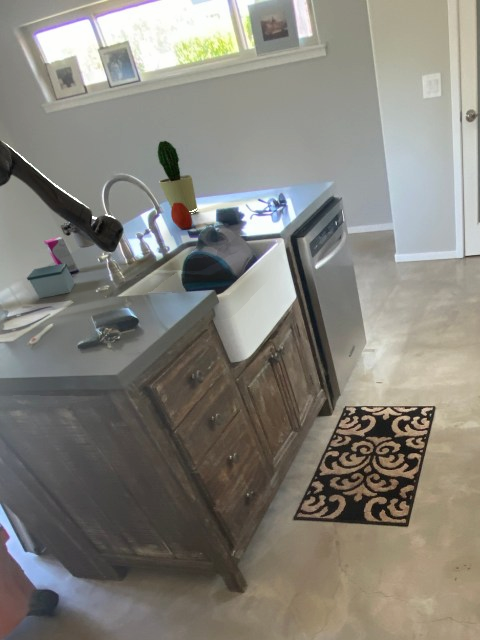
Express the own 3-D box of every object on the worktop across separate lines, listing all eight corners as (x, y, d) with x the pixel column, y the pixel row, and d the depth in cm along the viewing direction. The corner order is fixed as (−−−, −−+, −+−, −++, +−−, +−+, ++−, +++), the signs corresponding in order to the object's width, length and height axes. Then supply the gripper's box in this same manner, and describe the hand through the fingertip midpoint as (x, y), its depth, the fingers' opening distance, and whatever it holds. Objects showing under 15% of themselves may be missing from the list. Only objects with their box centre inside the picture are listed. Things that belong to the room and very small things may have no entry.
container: (38, 299, 173) (26, 277, 169) (45, 289, 181) (34, 269, 177) (70, 292, 175) (60, 271, 170) (76, 283, 182) (66, 262, 178)
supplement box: (75, 268, 198) (59, 236, 190) (79, 271, 194) (63, 238, 186) (59, 273, 195) (43, 240, 188) (63, 276, 192) (46, 242, 184)
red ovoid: (172, 231, 228) (162, 203, 221) (184, 225, 233) (175, 198, 226) (186, 231, 225) (176, 203, 218) (198, 225, 230) (189, 198, 223)
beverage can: (79, 245, 190) (62, 208, 182) (97, 242, 192) (81, 205, 184) (77, 249, 186) (60, 211, 178) (96, 245, 187) (79, 208, 179)
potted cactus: (172, 219, 247) (146, 143, 227) (169, 214, 258) (144, 141, 238) (204, 212, 250) (181, 137, 230) (199, 207, 261) (177, 135, 241)
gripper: (106, 211, 176) (90, 207, 186) (64, 221, 170) (49, 217, 180) (116, 235, 181) (100, 230, 191) (75, 246, 175) (61, 240, 185)
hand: (75, 223), depth 185 cm, fingers closed on beverage can, 6 cm apart
